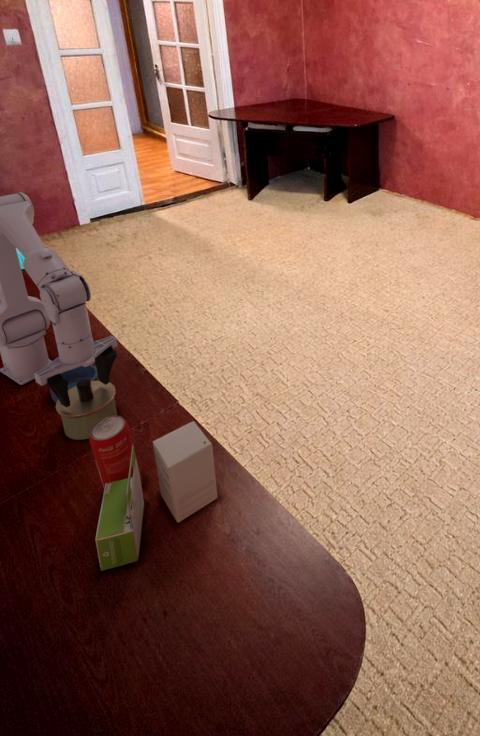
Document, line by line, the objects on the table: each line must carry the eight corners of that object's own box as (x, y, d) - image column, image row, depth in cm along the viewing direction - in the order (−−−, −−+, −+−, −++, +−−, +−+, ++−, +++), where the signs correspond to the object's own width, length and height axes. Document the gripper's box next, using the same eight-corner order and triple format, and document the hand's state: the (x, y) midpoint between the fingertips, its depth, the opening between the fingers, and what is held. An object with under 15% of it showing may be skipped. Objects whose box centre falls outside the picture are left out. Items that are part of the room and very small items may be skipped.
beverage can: (149, 477, 88) (139, 412, 83) (127, 509, 82) (114, 441, 77) (118, 472, 89) (106, 408, 83) (94, 504, 83) (79, 437, 77)
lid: (45, 407, 95) (41, 388, 94) (96, 378, 104) (93, 360, 102) (76, 428, 91) (72, 408, 90) (127, 396, 100) (123, 377, 98)
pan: (42, 394, 106) (39, 381, 105) (85, 371, 114) (82, 359, 112) (67, 410, 102) (64, 397, 101) (109, 385, 110) (107, 372, 108)
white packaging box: (200, 472, 90) (195, 418, 86) (218, 498, 85) (213, 443, 81) (159, 495, 85) (151, 440, 81) (176, 525, 80) (168, 468, 76)
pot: (54, 427, 97) (49, 404, 95) (99, 400, 105) (95, 378, 103) (82, 446, 94) (76, 422, 92) (126, 417, 101) (122, 394, 99)
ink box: (110, 513, 81) (98, 449, 77) (145, 503, 83) (135, 441, 78) (100, 573, 72) (85, 505, 68) (140, 561, 74) (128, 494, 70)
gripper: (44, 363, 84) (58, 423, 89) (123, 324, 96) (131, 379, 101) (22, 349, 87) (37, 409, 92) (101, 314, 99) (110, 368, 104)
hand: (85, 393), depth 97 cm, fingers open, 7 cm apart
